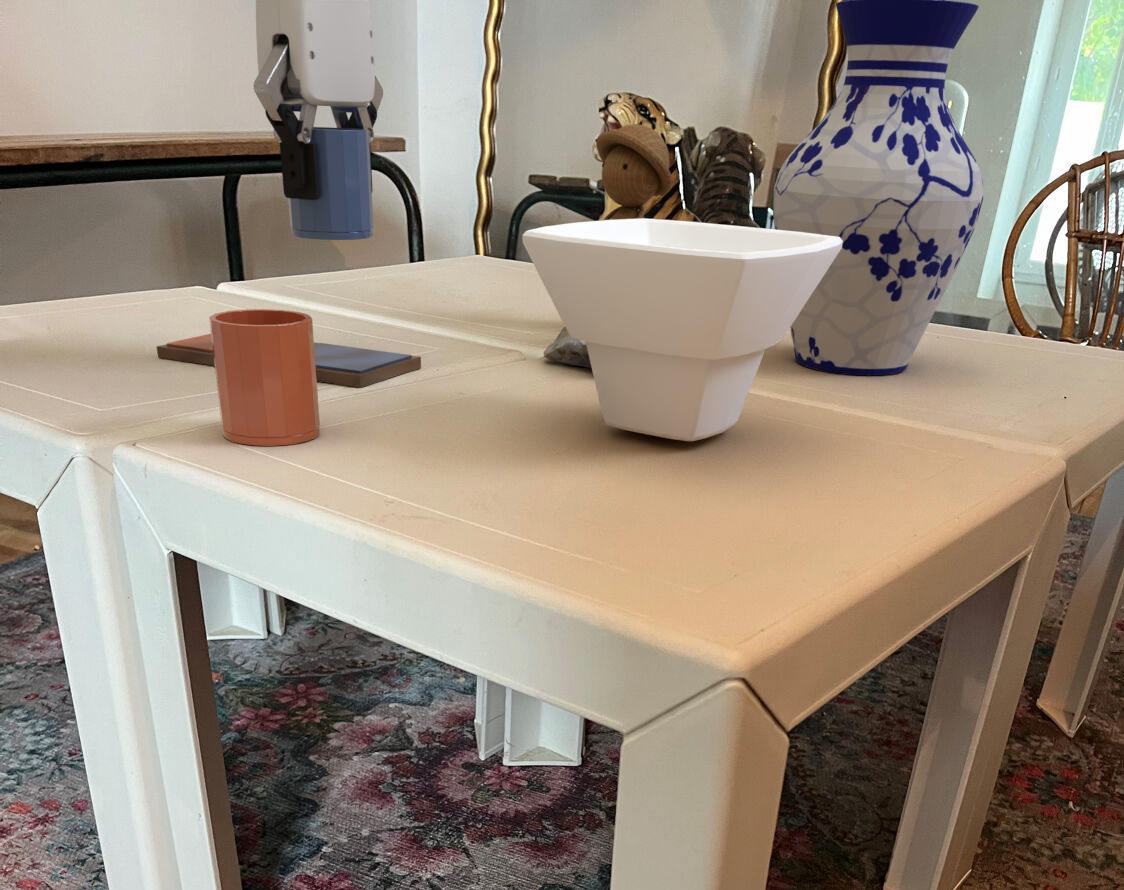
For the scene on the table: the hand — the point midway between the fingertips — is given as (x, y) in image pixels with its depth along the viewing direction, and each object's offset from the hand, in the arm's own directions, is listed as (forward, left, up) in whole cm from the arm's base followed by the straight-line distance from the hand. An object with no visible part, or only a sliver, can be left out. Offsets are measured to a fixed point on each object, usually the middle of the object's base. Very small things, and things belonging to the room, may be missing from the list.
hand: (329, 194), depth 94 cm
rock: (+19, +14, -14) cm, 28 cm away
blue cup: (0, 0, -3) cm, 3 cm away
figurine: (+13, +35, -14) cm, 40 cm away
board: (-6, 0, -14) cm, 15 cm away
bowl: (+33, -5, -14) cm, 37 cm away
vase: (+39, +31, -14) cm, 52 cm away
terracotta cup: (+8, -21, -14) cm, 27 cm away
